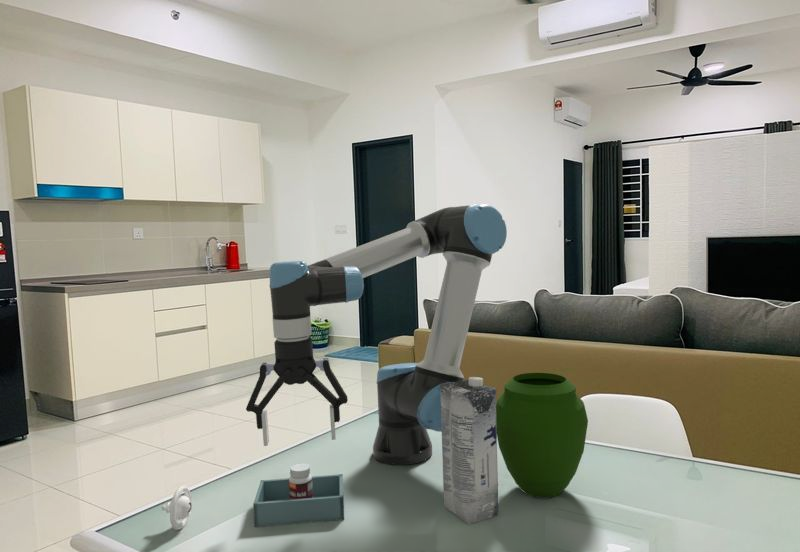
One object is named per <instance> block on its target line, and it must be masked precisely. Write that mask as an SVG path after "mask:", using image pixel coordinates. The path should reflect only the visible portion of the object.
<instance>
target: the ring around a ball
mask: <svg viewBox="0 0 800 552" xmlns="http://www.w3.org/2000/svg"><path fill="white" fill-rule="evenodd" d="M182 492H183V493H184V495H182ZM192 509H193V502H192V495H191V491H190V489H189V487H187V486H186V485H182V486H179V487H178V488H177V489H176V490H175V491H174V493H173V496H172V499H171V501H169V502H167V504H163V505H162V506H161V510H162V511H165V512H166V513H167V514H169V519H170V520H169V521H170V524H171V527H172V528H173V529H174V530H177V531H180V530H182V529H183V528H184V527H185V526H186V524H188V523H187V522H188V520H189V518H190V515H191V512H192ZM177 520H180V522H179V523H178V521H177Z"/></svg>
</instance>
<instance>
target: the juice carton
mask: <svg viewBox="0 0 800 552" xmlns="http://www.w3.org/2000/svg"><path fill="white" fill-rule="evenodd" d="M440 396H441V426H442V432H441V452H442V453H441V454H442V480H443V484H442V485H443V499H444V500H443V501H444V506H445V508H446V509H447V510H448V511H450V512H452V513H453V514H454V515H456V516H457V517H459V518H460V519H461V520H462V521H463V522H464V523H466V524H468V525H470V524H475V523H477V522H482V521H484V520H487V519H491V518H494V517H497V516H498V514H499V472H498V438H497V428H496V404H497V388H496V387H494V386H489V385H484V378H483V377H477V376H469V377H468V379H466V380H463V381H458V382H453V383H448V384H442V385H440Z"/></svg>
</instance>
